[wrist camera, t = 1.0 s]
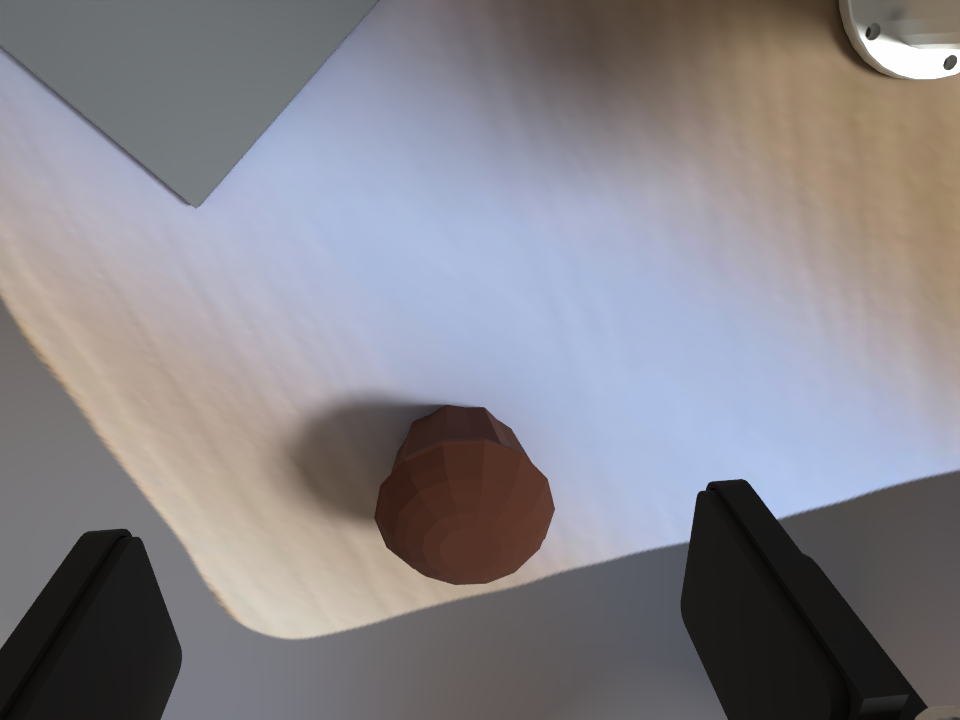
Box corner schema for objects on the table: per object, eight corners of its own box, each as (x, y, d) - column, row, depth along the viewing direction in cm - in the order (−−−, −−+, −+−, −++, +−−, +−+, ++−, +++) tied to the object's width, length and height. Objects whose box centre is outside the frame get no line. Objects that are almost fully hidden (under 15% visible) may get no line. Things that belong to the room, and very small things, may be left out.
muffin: (356, 487, 46) (343, 590, 37) (415, 366, 43) (416, 447, 34) (496, 532, 50) (515, 635, 41) (563, 422, 46) (600, 510, 37)
